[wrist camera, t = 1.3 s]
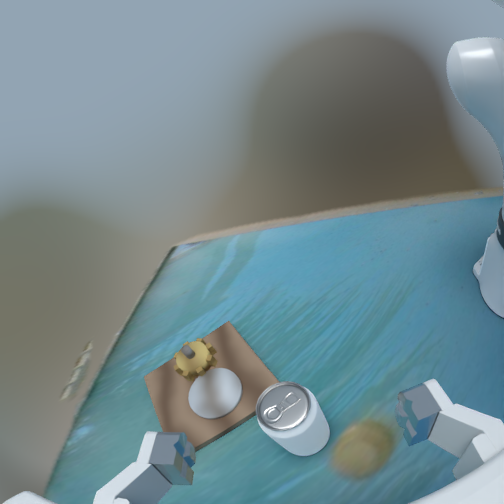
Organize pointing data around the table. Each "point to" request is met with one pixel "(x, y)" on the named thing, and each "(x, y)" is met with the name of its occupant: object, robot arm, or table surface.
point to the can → (293, 418)
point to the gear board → (209, 386)
